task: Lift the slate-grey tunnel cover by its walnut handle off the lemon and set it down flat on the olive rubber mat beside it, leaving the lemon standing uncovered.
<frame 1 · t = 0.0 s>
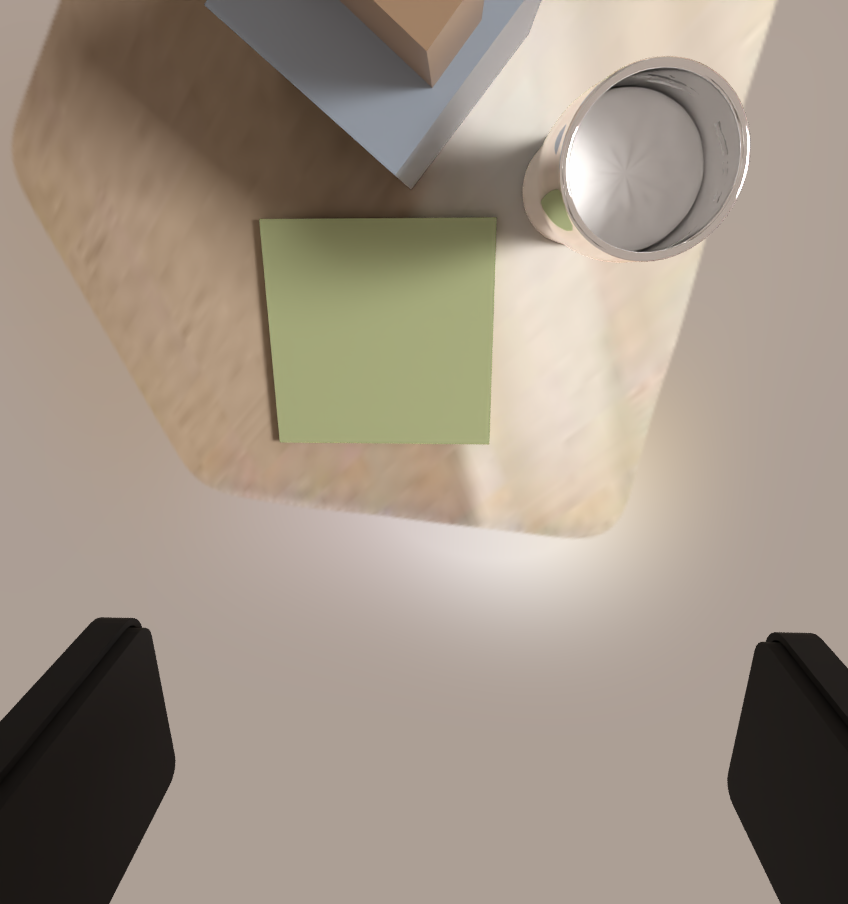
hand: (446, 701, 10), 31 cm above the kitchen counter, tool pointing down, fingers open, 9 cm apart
cover: (400, 51, 33), on the kitchen counter
beer glass: (574, 189, 36), on the kitchen counter
mat: (381, 336, 39), on the kitchen counter
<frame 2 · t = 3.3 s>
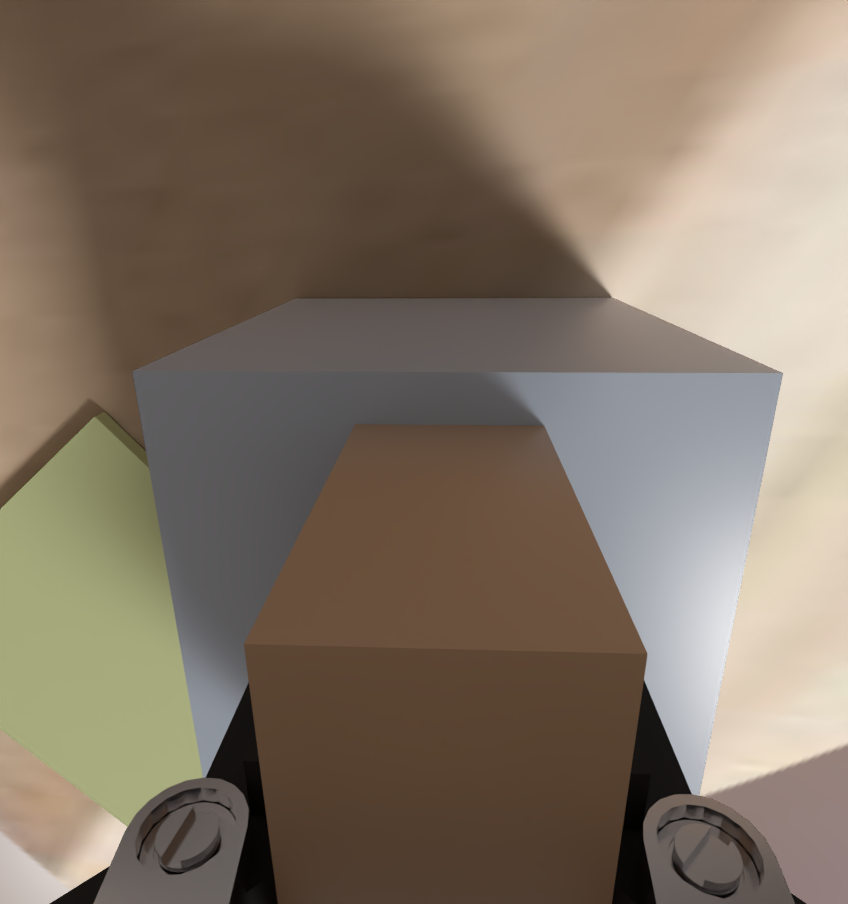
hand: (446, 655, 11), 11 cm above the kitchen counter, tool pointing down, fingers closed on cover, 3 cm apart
cover: (450, 443, 21), on the kitchen counter, touching gripper
mat: (129, 647, 25), on the kitchen counter
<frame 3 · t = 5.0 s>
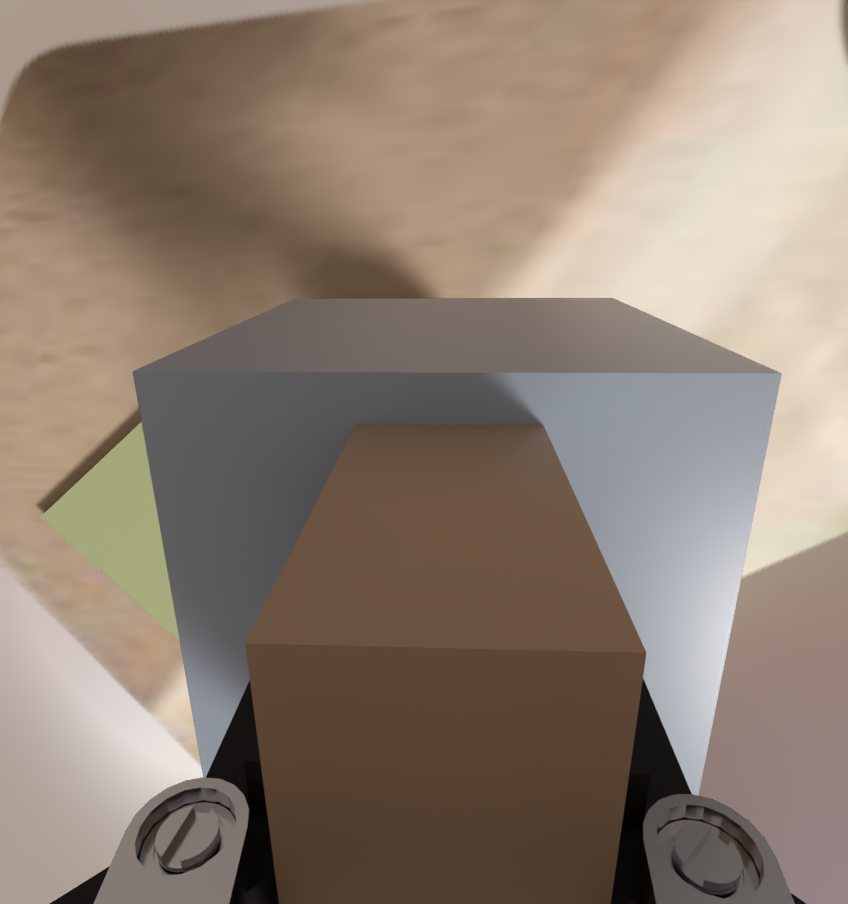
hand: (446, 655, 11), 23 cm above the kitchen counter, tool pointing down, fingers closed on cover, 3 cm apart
cover: (450, 443, 21), point 12 cm above the kitchen counter, touching gripper
mat: (216, 527, 35), on the kitchen counter
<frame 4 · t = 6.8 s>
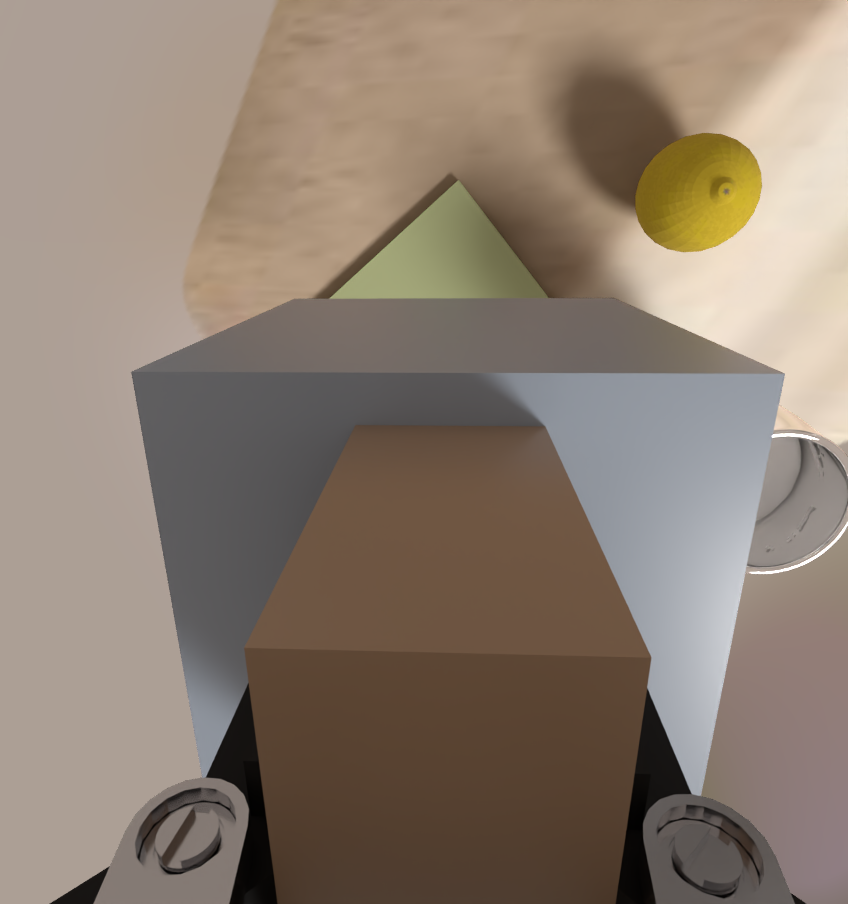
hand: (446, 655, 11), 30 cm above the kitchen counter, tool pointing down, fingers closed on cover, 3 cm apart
cover: (450, 443, 21), point 19 cm above the kitchen counter, touching gripper
beer glass: (660, 403, 39), on the kitchen counter
mat: (442, 351, 39), on the kitchen counter
lemon: (668, 198, 35), on the kitchen counter
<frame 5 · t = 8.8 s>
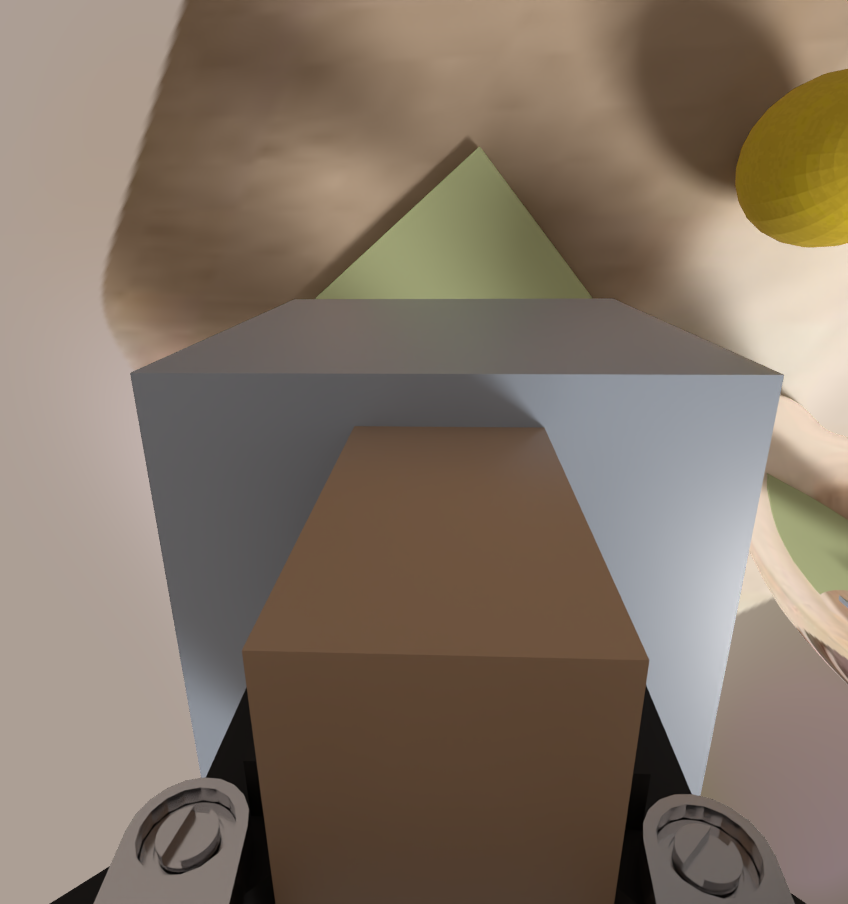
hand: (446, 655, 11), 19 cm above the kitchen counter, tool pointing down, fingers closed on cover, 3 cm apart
cover: (450, 444, 21), point 8 cm above the kitchen counter, touching gripper
beer glass: (746, 451, 29), on the kitchen counter
mat: (455, 383, 29), on the kitchen counter
lemon: (771, 172, 25), on the kitchen counter
when the fingers open (13 cm above the kitchen counter, at t = 10.2 s): cover drops 1 cm, resting on mat.
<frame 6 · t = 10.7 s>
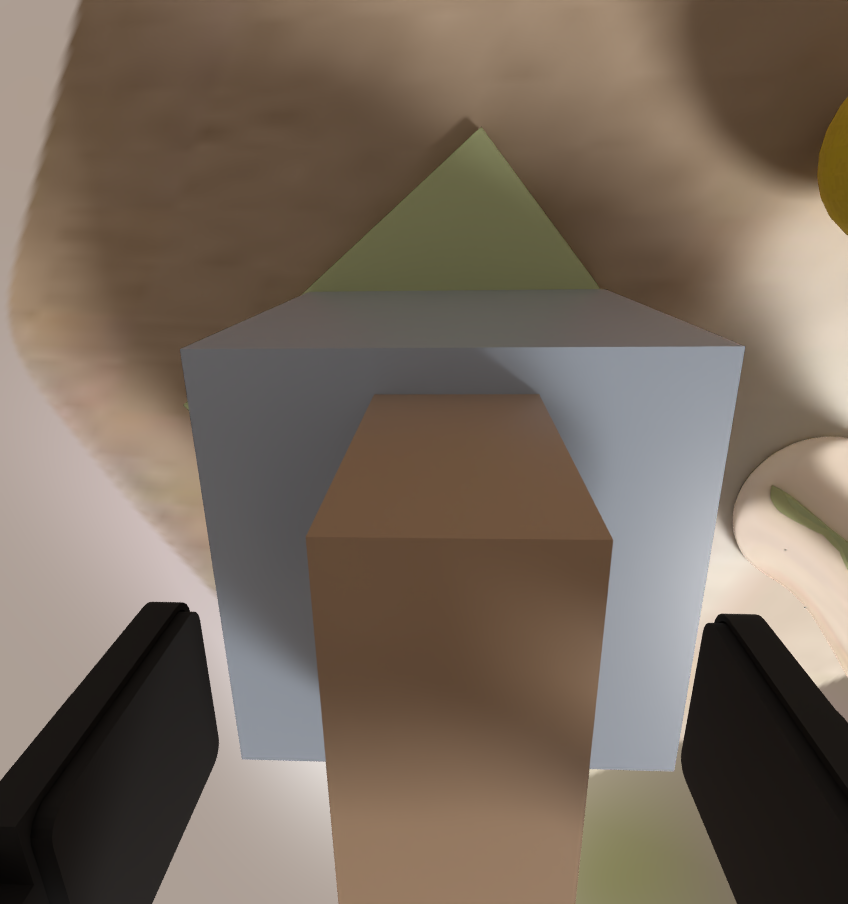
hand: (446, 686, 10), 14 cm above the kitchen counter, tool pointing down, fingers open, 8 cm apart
cover: (454, 427, 22), point 1 cm above the kitchen counter, touching mat
beer glass: (809, 507, 24), on the kitchen counter
mat: (450, 424, 23), on the kitchen counter
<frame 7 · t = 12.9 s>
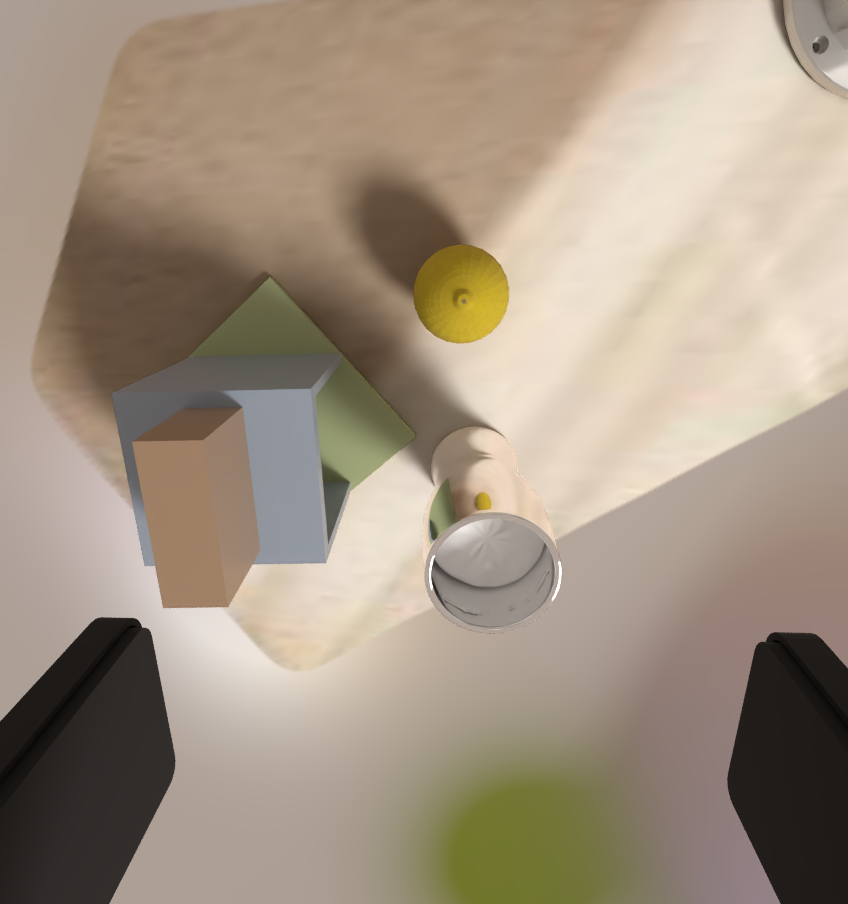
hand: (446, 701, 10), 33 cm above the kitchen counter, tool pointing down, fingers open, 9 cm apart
cover: (273, 425, 42), point 1 cm above the kitchen counter, touching mat
beer glass: (473, 466, 43), on the kitchen counter
mat: (273, 424, 42), on the kitchen counter
lemon: (458, 289, 40), on the kitchen counter
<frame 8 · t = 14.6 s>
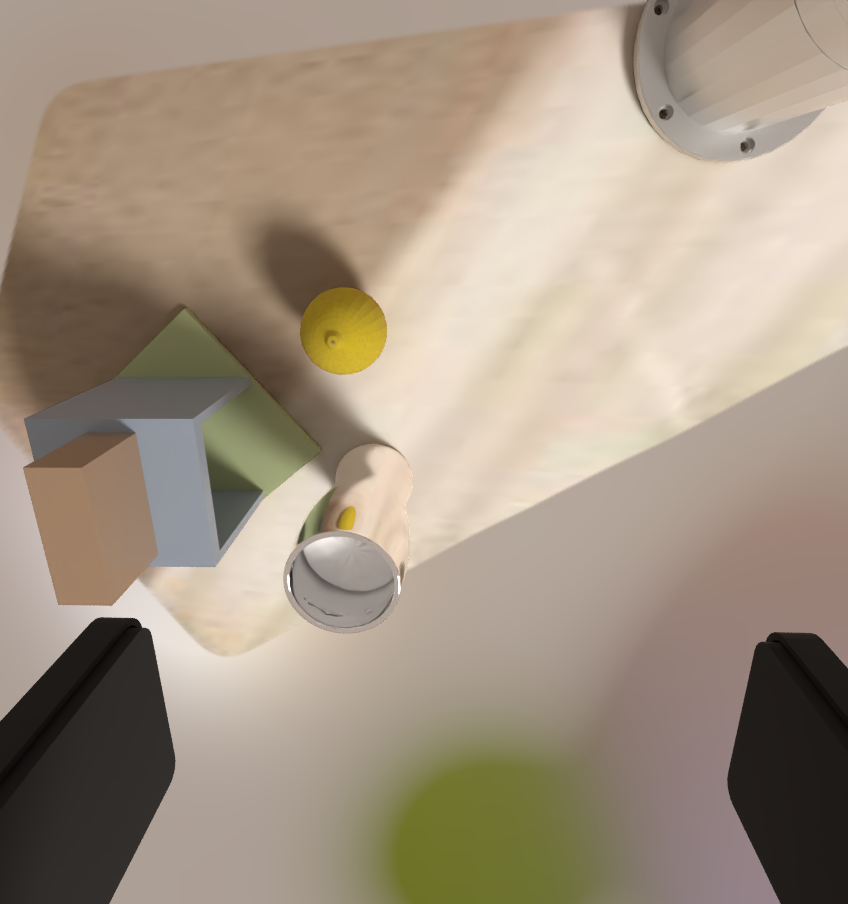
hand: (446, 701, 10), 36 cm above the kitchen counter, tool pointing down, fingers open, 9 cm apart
cover: (193, 439, 47), point 1 cm above the kitchen counter, touching mat
beer glass: (375, 478, 48), on the kitchen counter
mat: (194, 437, 47), on the kitchen counter
lemon: (354, 322, 44), on the kitchen counter
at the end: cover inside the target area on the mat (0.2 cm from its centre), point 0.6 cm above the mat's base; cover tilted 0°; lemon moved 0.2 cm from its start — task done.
